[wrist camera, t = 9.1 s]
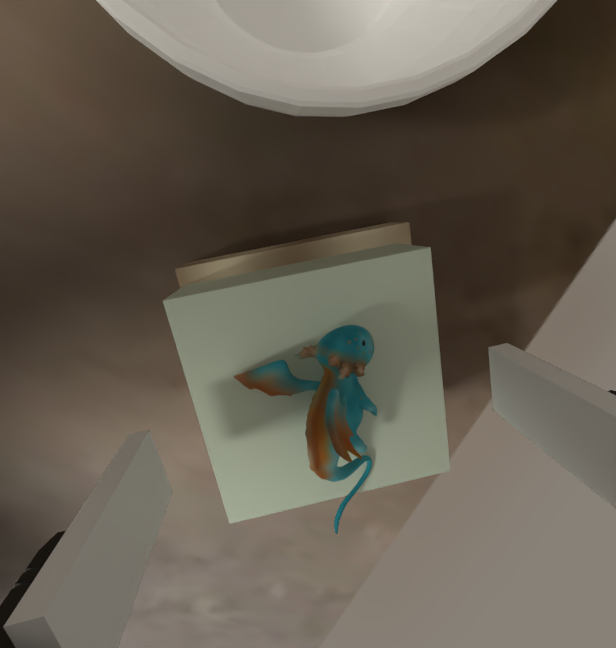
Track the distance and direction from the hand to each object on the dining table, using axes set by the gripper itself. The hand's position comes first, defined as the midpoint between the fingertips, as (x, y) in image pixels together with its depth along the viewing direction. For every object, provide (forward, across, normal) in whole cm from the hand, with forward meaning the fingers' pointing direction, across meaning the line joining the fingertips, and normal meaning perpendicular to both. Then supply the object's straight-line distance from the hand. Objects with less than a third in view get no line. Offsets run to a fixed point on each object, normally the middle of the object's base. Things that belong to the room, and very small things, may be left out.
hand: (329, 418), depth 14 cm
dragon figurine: (+3, 0, -1) cm, 3 cm away
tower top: (+6, 0, 0) cm, 6 cm away
